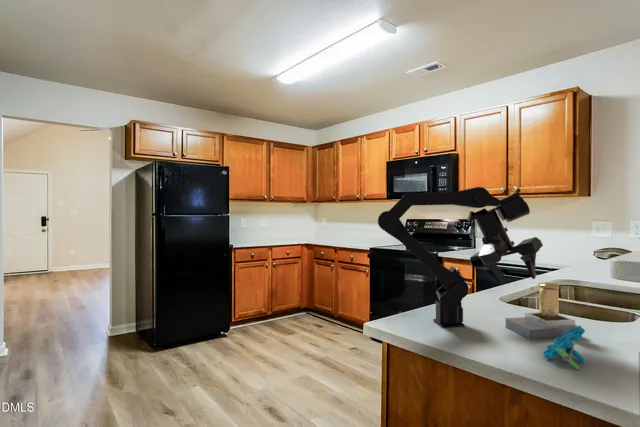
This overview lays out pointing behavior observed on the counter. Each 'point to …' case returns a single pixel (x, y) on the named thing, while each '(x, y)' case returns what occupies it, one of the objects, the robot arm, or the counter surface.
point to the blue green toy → (566, 346)
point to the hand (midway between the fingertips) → (517, 281)
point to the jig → (539, 326)
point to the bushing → (549, 301)
